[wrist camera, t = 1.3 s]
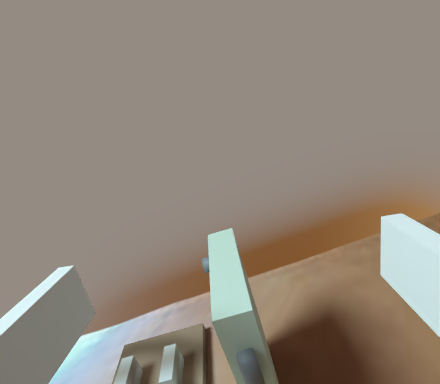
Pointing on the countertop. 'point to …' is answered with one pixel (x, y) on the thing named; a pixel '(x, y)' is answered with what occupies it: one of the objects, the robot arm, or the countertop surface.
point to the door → (236, 313)
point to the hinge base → (165, 359)
